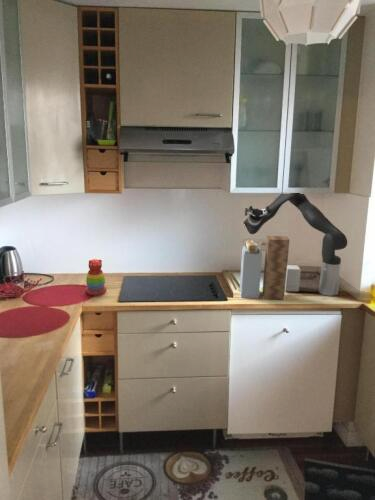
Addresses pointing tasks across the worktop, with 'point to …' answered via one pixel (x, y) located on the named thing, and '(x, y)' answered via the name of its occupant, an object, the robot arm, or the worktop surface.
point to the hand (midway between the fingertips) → (259, 207)
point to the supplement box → (292, 278)
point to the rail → (251, 247)
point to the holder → (250, 273)
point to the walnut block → (275, 267)
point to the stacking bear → (95, 278)
